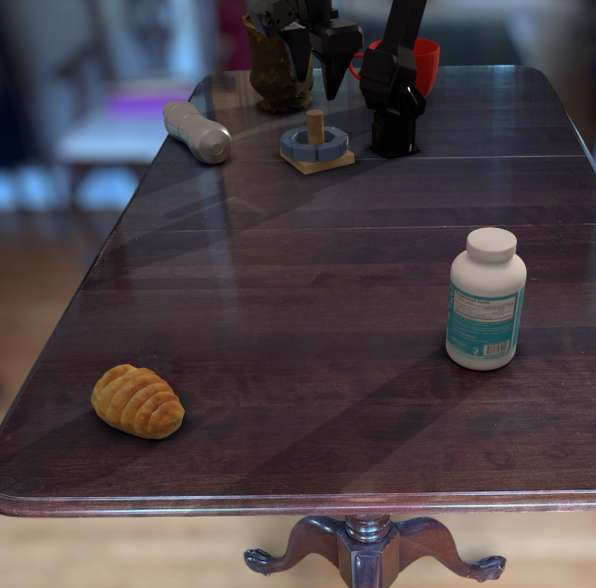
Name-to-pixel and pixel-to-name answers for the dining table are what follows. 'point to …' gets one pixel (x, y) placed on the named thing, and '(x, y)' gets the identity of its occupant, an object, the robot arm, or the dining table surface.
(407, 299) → the dining table surface
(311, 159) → the ring
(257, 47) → the pottery vessel
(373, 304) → the dining table surface
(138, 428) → the pastry
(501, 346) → the pill bottle
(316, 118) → the stand
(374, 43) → the ceramic cup
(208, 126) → the plastic bottle
